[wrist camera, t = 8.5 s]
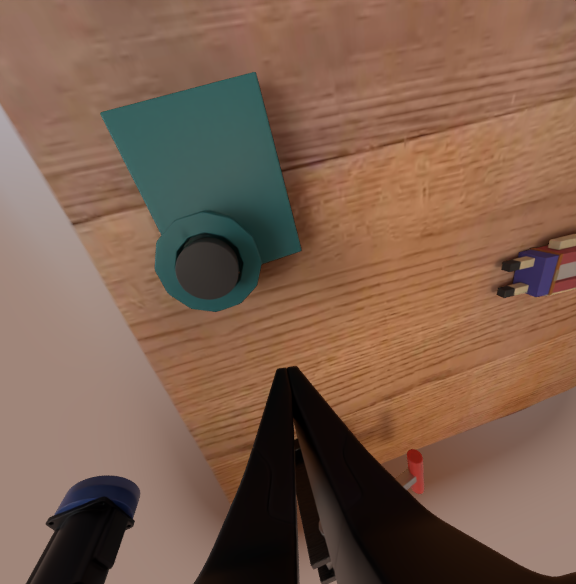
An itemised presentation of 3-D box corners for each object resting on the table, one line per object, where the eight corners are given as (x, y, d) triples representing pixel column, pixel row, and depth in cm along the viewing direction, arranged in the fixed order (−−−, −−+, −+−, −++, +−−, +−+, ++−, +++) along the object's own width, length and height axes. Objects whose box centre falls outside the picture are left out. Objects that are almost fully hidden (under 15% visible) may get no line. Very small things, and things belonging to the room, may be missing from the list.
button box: (192, 303, 19) (183, 323, 16) (101, 125, 14) (61, 102, 11) (302, 266, 20) (314, 278, 17) (253, 84, 15) (258, 52, 12)
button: (196, 297, 16) (191, 307, 14) (171, 247, 14) (163, 253, 13) (245, 280, 16) (247, 289, 15) (226, 229, 15) (225, 233, 13)
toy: (533, 258, 21) (690, 220, 21) (491, 248, 25) (624, 216, 25) (520, 315, 23) (660, 281, 23) (483, 298, 27) (604, 269, 27)
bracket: (339, 421, 28) (386, 522, 20) (349, 459, 32) (393, 560, 23) (262, 452, 28) (274, 572, 19) (280, 487, 31) (298, 604, 22)
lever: (410, 442, 25) (430, 462, 23) (412, 472, 28) (431, 493, 26) (306, 519, 22) (319, 552, 20) (320, 546, 24) (333, 578, 22)
